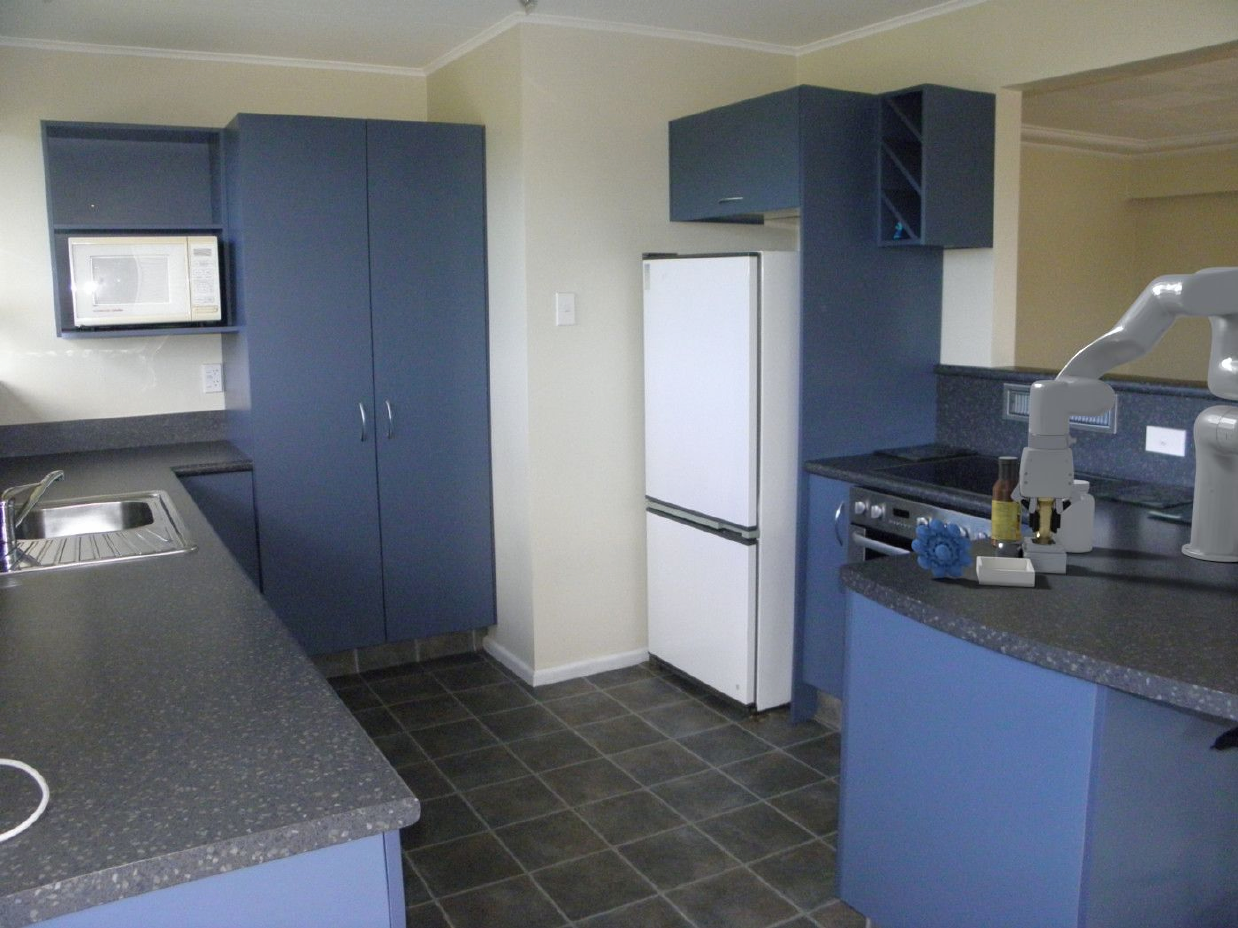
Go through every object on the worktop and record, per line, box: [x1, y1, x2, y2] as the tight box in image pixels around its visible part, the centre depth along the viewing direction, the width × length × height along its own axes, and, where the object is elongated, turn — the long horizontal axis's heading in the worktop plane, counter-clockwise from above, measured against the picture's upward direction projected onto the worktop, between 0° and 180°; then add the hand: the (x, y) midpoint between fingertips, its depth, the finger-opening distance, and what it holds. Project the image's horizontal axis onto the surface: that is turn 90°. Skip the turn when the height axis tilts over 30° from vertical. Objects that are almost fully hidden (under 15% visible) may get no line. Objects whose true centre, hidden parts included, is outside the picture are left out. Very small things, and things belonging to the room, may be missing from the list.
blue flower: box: [911, 518, 974, 579], centre depth 208 cm, size 12×7×12 cm, turn 77°
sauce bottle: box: [990, 456, 1023, 548], centre depth 232 cm, size 6×6×20 cm
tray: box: [975, 555, 1036, 588], centre depth 208 cm, size 10×10×3 cm
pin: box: [1034, 497, 1056, 544], centre depth 214 cm, size 4×4×11 cm
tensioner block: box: [995, 536, 1067, 575], centre depth 216 cm, size 13×8×6 cm, turn 74°
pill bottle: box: [1052, 479, 1096, 554], centre depth 229 cm, size 8×8×15 cm
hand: (1044, 530), depth 214 cm, fingers closed on pin, 3 cm apart
